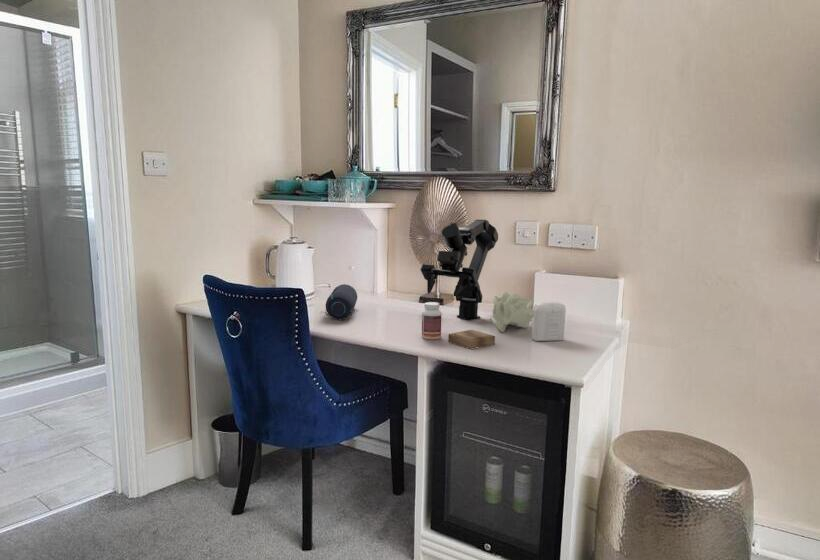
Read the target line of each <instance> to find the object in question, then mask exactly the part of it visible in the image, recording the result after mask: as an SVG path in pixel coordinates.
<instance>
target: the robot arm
mask: <svg viewBox="0 0 820 560" xmlns="http://www.w3.org/2000/svg"><path fill="white" fill-rule="evenodd" d="M441 235H442V237H443V241H444V242H445V245H446V247H448V250H447V251H446V250H439V251H438V253H437V258H436V261H437V262H439V266H440V267H439V268H436V267H435V265H434V264H430V263H429V264H428V263H427V264H426V263H423V264H422V265H421V267H420V269H419V270H420V272H421V275H422V277H423V278H424V280H426V283H427V291H426V292H427V294H428V295H429V294H430V293H431V292H432V291H433V288H434V286H435V284H436V282H437V281H436V279H437V278H438V276H439V277H440V276H442V277H448V278H456V279H457V278H458V281H457V283H456V285H455V288H454V291H453V296H454V297H455V301H456V302H459V307H458V314H457V315H456V318H460V319H464V320H468V321H469V320H476V319H481V316H480V315H478V310H479V309H478V308H479V307H478V306H479V304H481V303H482V302H483V294H482V291H481V285H480V283H479V280H480V276H481V273H482V271H483V267H484V264H485V262H486V259H487V257H488V256H487V255H488V253H489V252H490V251H491V250H492V249H494V248H495V246H496V244H497V243H498V240H499V233H498V230H497V228H496V227H495V226H493V225H492V224H490V222H489V220H488V219H478V218H477V219H474V220H473V222H471V223H470V224H467V225H466V226H458V223H457V222H450V224H449V225H447V226H445V227H444V228H442V230H441ZM474 242H475V243H476V247H475V249H474V252H473V255H472V257H471V261H470V263H469V266H468V267H465V266H464V265H463V262H464V258H465V257H467V256H468V248H467V245H469V246H471V245H472V244H473V243H474ZM463 266H464V267H463ZM440 268H441V269H440ZM460 270H461V271H460Z"/></svg>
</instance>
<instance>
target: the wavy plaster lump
mask: <svg viewBox="0 0 820 560" xmlns="http://www.w3.org/2000/svg"><path fill="white" fill-rule="evenodd" d="M492 299H493V309H492V315H491V316H492V317H491V321H492V323H493V324H494V325H495V326H496V327H497V329H498V331H499V332H500V333H504V331H505V330H506V327H508V325H510V326H511V325H513V326H515V327H518V328H524V329H526V328H528V326H529V325H530V323H531V322H532V321H533V313H534V309H531V307H532V303H533V300H532V299H530V298H528V297H521V296H519V295H518V294H510V293H509V292H507V291H503V292H502V293H501V294H500V295H499V297H498V296H496V295H495V296H494V298H492Z"/></svg>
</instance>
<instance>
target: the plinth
mask: <svg viewBox="0 0 820 560" xmlns="http://www.w3.org/2000/svg"><path fill="white" fill-rule="evenodd" d="M447 340H448V343H450V342H451V344H454V343H455V344H454V345H457V344H458V346H460V345H461V346H460V347H463V346H464V347H463V348H466V347H468V348H467V349H469V348H475V349H477V348H476V347H479V348H483V347H482V346H484V347H487V346H486V345H488V346H492V345H491V344H493V345H495V343H496V341H495V340H496V336H495V335H492V334H489V333H485V332H482V331H478V330H475V329H467V330H461V331H456V332H452V333H448V339H447Z"/></svg>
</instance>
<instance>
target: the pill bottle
mask: <svg viewBox="0 0 820 560" xmlns="http://www.w3.org/2000/svg"><path fill="white" fill-rule="evenodd" d="M423 306H424V309H423V310H422V312H421V338H423V339H424V340H429V341H430V340H434V341H435V340H438V339H439V340H440V338H441V337H442V315H443V313H442V311H441V310H440V302H435V301H433V302H432V301H430V302H425V303H424V305H423Z"/></svg>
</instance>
